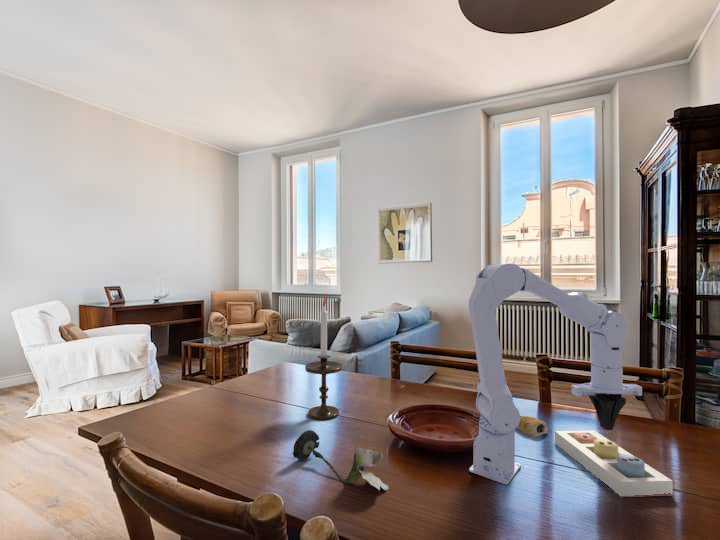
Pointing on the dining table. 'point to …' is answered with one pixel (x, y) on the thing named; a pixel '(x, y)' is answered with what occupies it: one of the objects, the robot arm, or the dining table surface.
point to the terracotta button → (584, 438)
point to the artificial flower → (361, 460)
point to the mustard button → (605, 449)
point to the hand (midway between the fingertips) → (606, 428)
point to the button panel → (612, 467)
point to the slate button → (630, 466)
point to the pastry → (532, 426)
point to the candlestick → (323, 374)
